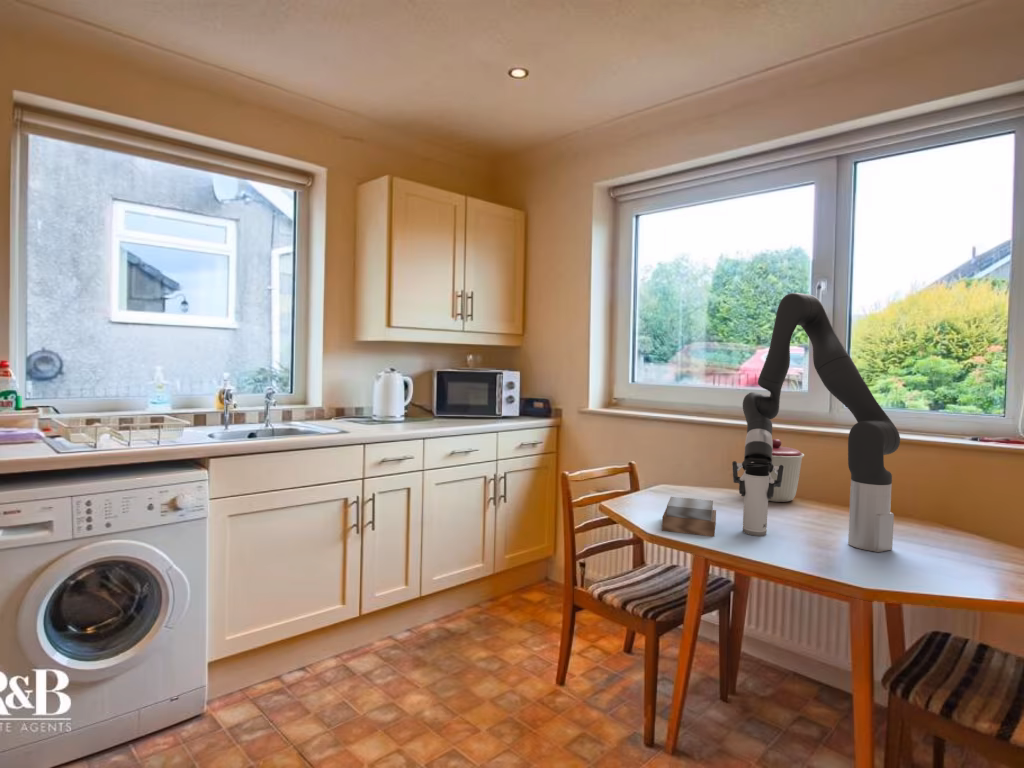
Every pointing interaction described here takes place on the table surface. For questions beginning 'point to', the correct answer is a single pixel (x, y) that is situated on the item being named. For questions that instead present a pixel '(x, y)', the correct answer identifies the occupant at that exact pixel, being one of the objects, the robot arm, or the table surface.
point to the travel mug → (756, 498)
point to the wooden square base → (689, 516)
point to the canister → (786, 471)
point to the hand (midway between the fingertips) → (756, 495)
